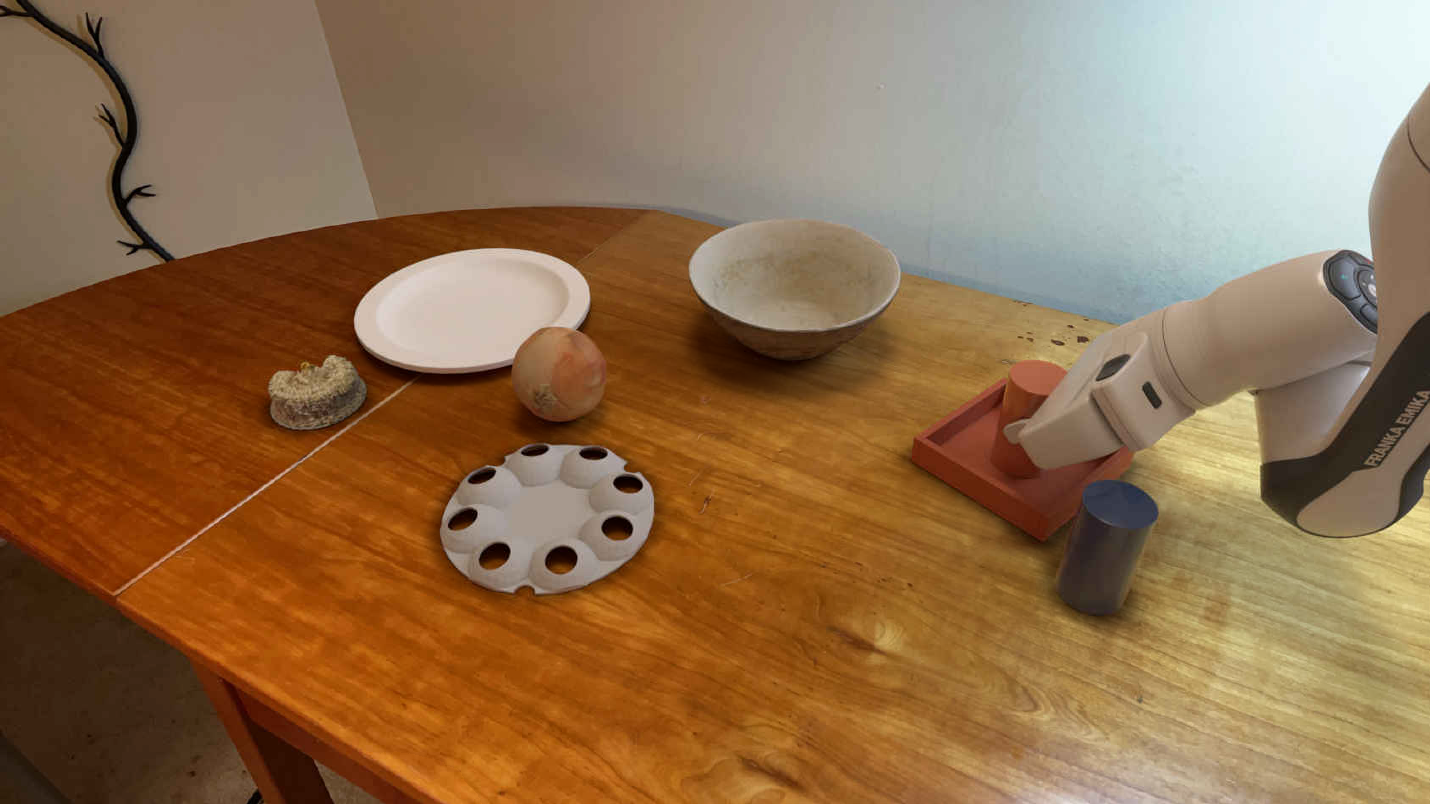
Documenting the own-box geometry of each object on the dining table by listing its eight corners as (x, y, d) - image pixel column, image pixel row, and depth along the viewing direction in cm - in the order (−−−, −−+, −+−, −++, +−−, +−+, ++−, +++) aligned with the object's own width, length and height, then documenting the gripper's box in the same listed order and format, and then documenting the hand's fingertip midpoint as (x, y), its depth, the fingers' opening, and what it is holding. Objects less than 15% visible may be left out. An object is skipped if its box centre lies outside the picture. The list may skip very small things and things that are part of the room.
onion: (510, 441, 93) (495, 361, 87) (527, 384, 101) (514, 306, 95) (604, 441, 93) (596, 360, 87) (614, 384, 100) (607, 306, 94)
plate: (319, 315, 113) (314, 298, 111) (513, 243, 127) (511, 228, 126) (429, 417, 96) (424, 399, 95) (637, 321, 111) (636, 304, 109)
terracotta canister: (1061, 471, 88) (1085, 388, 82) (1010, 484, 86) (1031, 400, 80) (1028, 436, 92) (1049, 355, 86) (979, 447, 91) (997, 365, 84)
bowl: (838, 422, 95) (845, 342, 89) (651, 356, 105) (646, 280, 99) (921, 319, 111) (932, 246, 105) (752, 271, 121) (753, 201, 115)
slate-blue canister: (1139, 606, 75) (1175, 519, 69) (1080, 622, 74) (1112, 535, 68) (1097, 558, 79) (1127, 472, 73) (1041, 573, 78) (1067, 487, 72)
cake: (383, 408, 98) (373, 369, 95) (291, 447, 93) (276, 408, 90) (346, 362, 104) (334, 324, 100) (257, 397, 99) (241, 358, 95)
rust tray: (1129, 468, 89) (1137, 444, 87) (1042, 542, 81) (1050, 518, 79) (999, 399, 98) (1004, 376, 96) (910, 460, 90) (913, 437, 88)
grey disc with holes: (692, 483, 87) (692, 468, 86) (574, 628, 74) (572, 612, 72) (529, 425, 95) (526, 410, 94) (394, 546, 81) (389, 530, 80)
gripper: (1177, 284, 82) (1048, 339, 92) (1099, 392, 69) (959, 441, 80) (1213, 342, 82) (1081, 390, 93) (1142, 460, 69) (998, 499, 80)
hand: (1024, 414), depth 86 cm, fingers closed on terracotta canister, 6 cm apart
